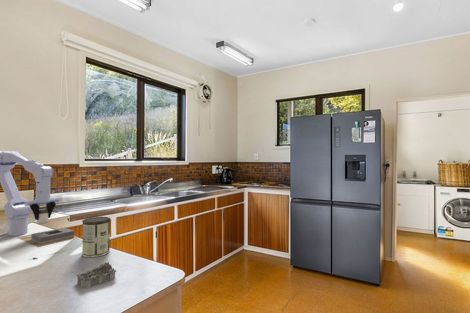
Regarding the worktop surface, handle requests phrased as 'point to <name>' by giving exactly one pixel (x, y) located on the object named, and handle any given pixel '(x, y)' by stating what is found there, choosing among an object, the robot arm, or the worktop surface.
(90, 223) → the coffee can
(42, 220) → the cylinder
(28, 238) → the board
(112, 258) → the worktop surface
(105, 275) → the egg carton
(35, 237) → the grey square frame plate
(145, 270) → the worktop surface
